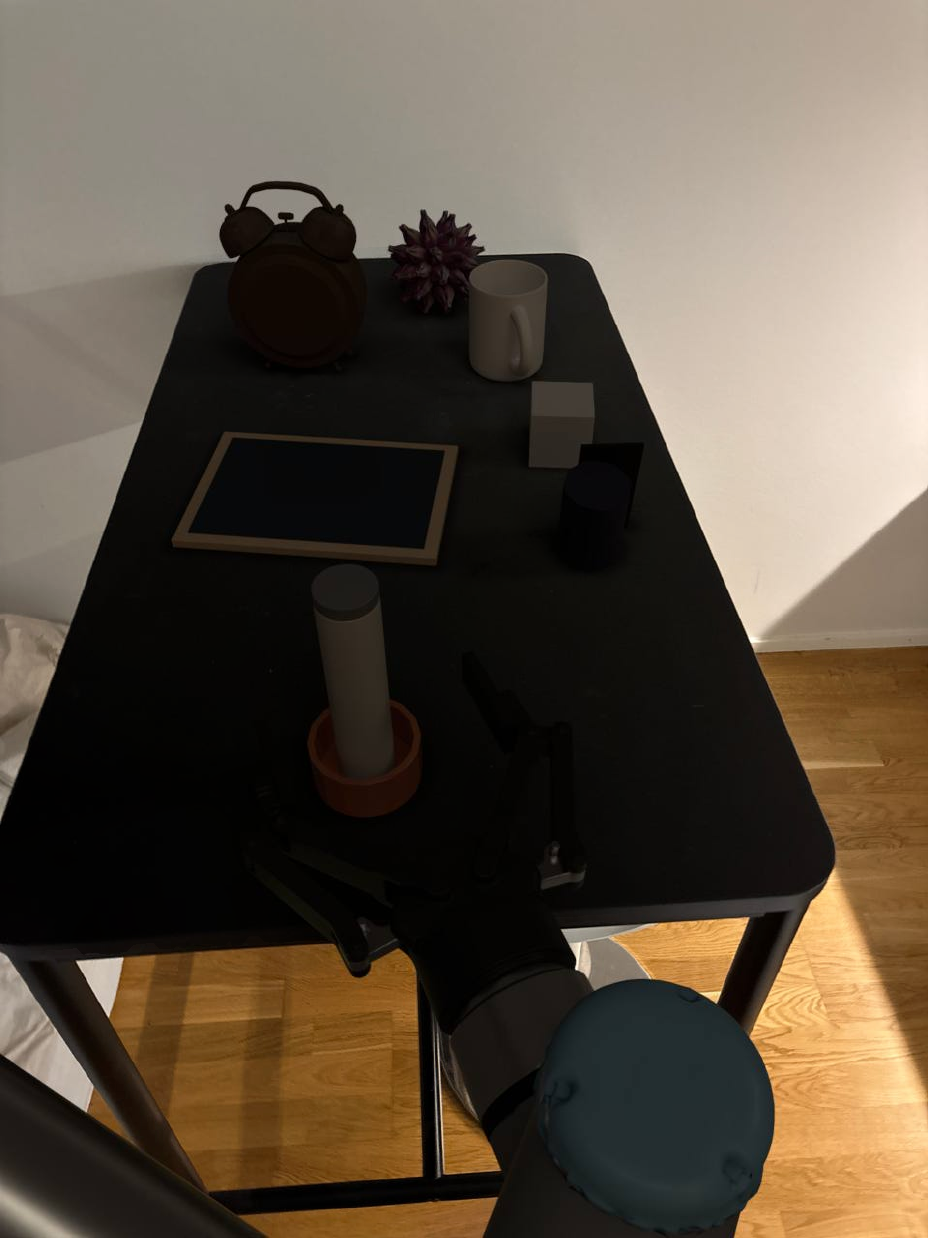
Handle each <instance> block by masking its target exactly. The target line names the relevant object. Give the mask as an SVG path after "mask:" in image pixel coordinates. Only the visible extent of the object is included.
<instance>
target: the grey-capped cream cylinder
mask: <svg viewBox="0 0 928 1238" xmlns="http://www.w3.org/2000/svg"><path fill="white" fill-rule="evenodd" d="M310 594H311V600H312V606H313V613H314V619H315V624H316V631H317V637H318V643H319V649H320V656H321V661H322V669H323V674H324V680H325V686H326V692H327V698H328V699H327V700H328V705H329V707H330V712H331V718H332V724H333V730H334V737H335V743H336V749H337V755H338V761H339V768H340V773H341V776H342V777H344V778H354V779H369V778H373V777H378V776H382V775H385V774H387V773H388V772H390V771H391V770H393V769H395V754H394V743H393V732H392V722H391V711H390V700H389V699H390V690H389V680H388V669H387V660H386V659H387V658H386V647H385V637H384V636H385V635H384V627H383V626H384V625H383V616H382V614H383V613H382V605H381V595H380V583H379V580H378V577H377V576H376V575H375V573H374V572H373V571H372V570H370V569H369V568H368V567H366V566H363V565H361V564H357V563H356V564H355V563H354V564H353V563H341V564H334V565H332V566H329V567H327V568H325V569H323V570H322V571H321V572H319V573H318V574H317V575H316V576H315V577H314V579H313V581H312V583H311V586H310Z"/></svg>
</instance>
